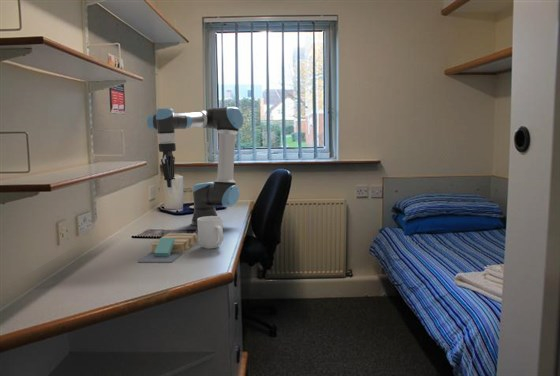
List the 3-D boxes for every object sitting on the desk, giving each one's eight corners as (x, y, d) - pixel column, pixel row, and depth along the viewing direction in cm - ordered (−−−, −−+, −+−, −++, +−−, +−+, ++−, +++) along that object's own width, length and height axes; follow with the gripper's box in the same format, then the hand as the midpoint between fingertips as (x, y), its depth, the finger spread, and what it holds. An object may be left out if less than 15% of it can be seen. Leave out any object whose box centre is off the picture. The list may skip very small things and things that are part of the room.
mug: (233, 248, 201) (232, 219, 199) (212, 253, 194) (210, 222, 192) (214, 242, 212) (213, 214, 210) (193, 247, 205) (192, 218, 203)
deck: (168, 241, 216) (167, 233, 216) (197, 241, 215) (196, 233, 214) (151, 253, 197) (151, 244, 196) (183, 253, 195) (182, 244, 194)
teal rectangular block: (161, 241, 197) (160, 237, 196) (174, 241, 196) (173, 237, 195) (155, 256, 190) (153, 252, 189) (169, 256, 189) (167, 252, 188)
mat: (151, 253, 197) (151, 252, 197) (183, 253, 195) (183, 252, 195) (138, 262, 183) (137, 261, 183) (171, 262, 181) (171, 261, 181)
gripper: (163, 142, 215) (167, 192, 218) (153, 143, 202) (157, 196, 206) (179, 141, 214) (182, 191, 218) (170, 143, 201) (174, 196, 205)
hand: (170, 193), depth 212 cm, fingers closed
